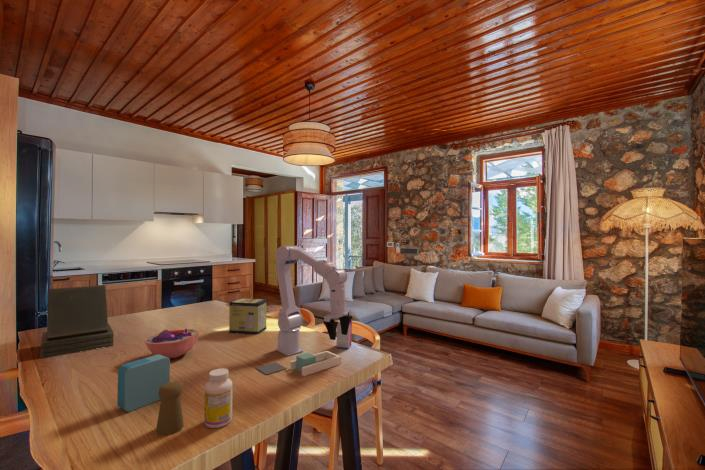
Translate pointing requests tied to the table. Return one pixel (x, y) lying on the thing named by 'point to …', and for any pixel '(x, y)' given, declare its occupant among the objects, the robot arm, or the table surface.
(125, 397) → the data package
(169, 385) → the brown pepper mill
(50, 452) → the table surface
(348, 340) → the supplement box
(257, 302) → the protein box
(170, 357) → the cell model
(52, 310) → the dark stepped-base plaque
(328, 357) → the frame
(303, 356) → the block
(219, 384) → the supplement bottle
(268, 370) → the mat
